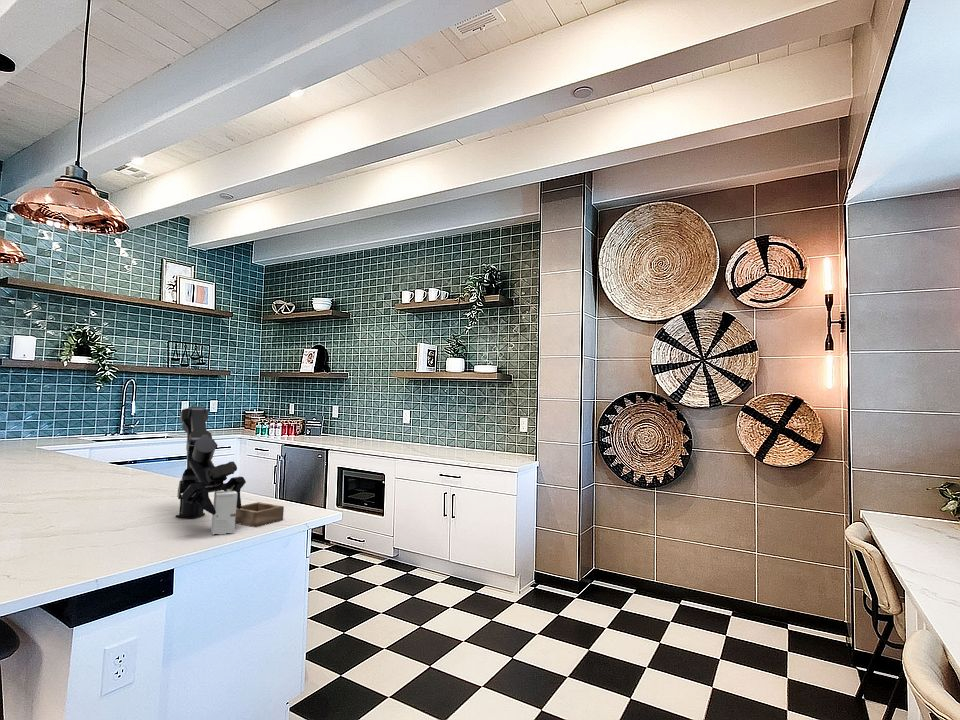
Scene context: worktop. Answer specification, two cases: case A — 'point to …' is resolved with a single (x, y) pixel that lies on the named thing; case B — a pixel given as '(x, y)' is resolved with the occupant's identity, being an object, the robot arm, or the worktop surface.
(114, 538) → the worktop surface
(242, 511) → the walnut socket
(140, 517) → the worktop surface
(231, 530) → the skincare box
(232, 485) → the robot arm
